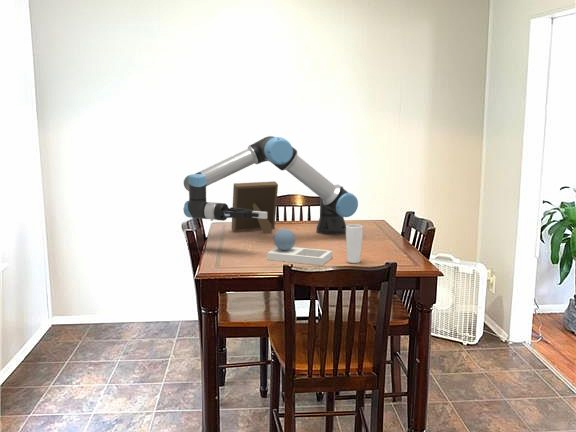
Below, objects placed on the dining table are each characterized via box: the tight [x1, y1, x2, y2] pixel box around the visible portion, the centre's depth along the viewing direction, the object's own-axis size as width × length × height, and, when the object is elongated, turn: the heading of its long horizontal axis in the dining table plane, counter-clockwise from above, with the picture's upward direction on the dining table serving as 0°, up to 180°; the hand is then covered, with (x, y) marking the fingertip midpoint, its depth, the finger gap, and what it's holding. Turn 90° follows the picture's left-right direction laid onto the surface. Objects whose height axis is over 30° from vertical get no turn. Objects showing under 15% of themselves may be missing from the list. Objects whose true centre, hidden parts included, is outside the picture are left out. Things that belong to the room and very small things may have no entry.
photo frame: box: [231, 181, 279, 234], centre depth 293 cm, size 15×22×25 cm
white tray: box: [266, 246, 334, 266], centre depth 243 cm, size 24×13×3 cm, turn 68°
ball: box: [273, 228, 296, 251], centre depth 244 cm, size 9×9×9 cm
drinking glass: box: [345, 223, 364, 264], centre depth 236 cm, size 7×7×15 cm
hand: (266, 215), depth 245 cm, fingers closed
